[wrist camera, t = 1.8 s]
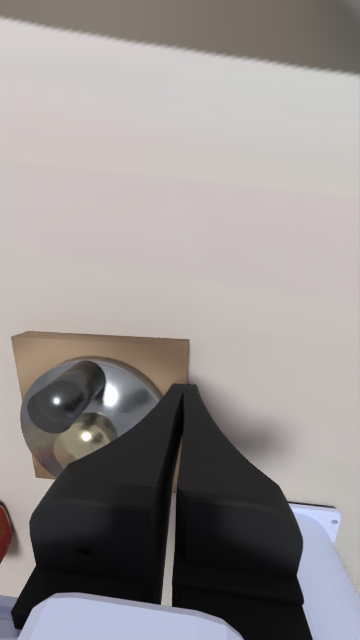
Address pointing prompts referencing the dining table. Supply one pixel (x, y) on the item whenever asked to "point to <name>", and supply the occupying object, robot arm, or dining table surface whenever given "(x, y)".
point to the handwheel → (83, 408)
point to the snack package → (4, 532)
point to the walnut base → (139, 352)
